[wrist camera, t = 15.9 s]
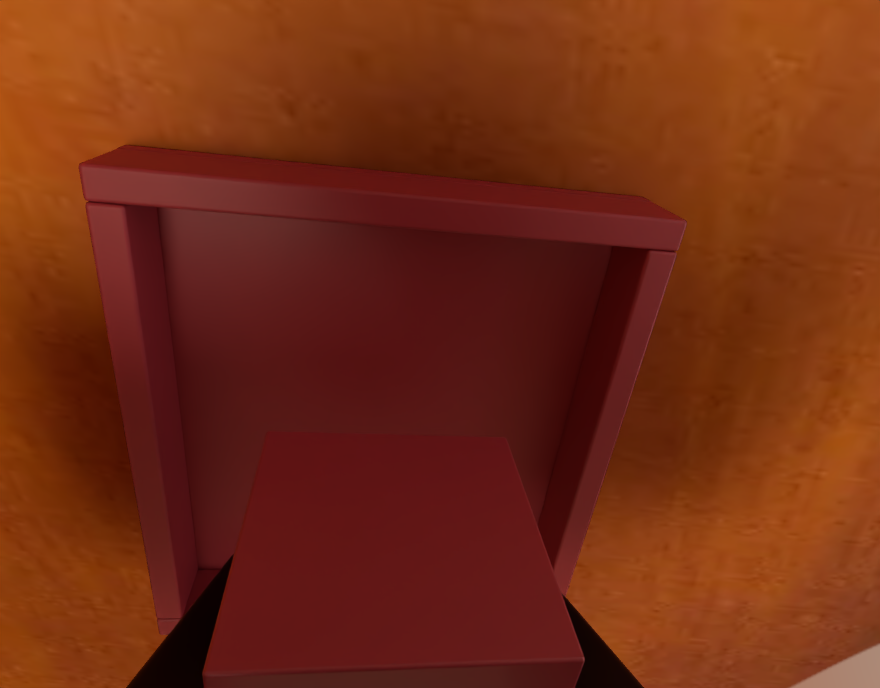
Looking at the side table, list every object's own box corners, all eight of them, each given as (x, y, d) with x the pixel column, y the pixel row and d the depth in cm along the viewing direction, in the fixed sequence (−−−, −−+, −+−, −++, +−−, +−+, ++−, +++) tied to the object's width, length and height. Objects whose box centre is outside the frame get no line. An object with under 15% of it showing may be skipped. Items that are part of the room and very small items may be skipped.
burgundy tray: (538, 568, 17) (557, 625, 15) (181, 571, 15) (158, 636, 14) (644, 196, 12) (689, 221, 10) (124, 144, 10) (75, 162, 8)
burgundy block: (472, 593, 11) (519, 836, 8) (271, 597, 11) (224, 862, 7) (506, 435, 10) (587, 660, 6) (267, 429, 9) (200, 674, 5)
